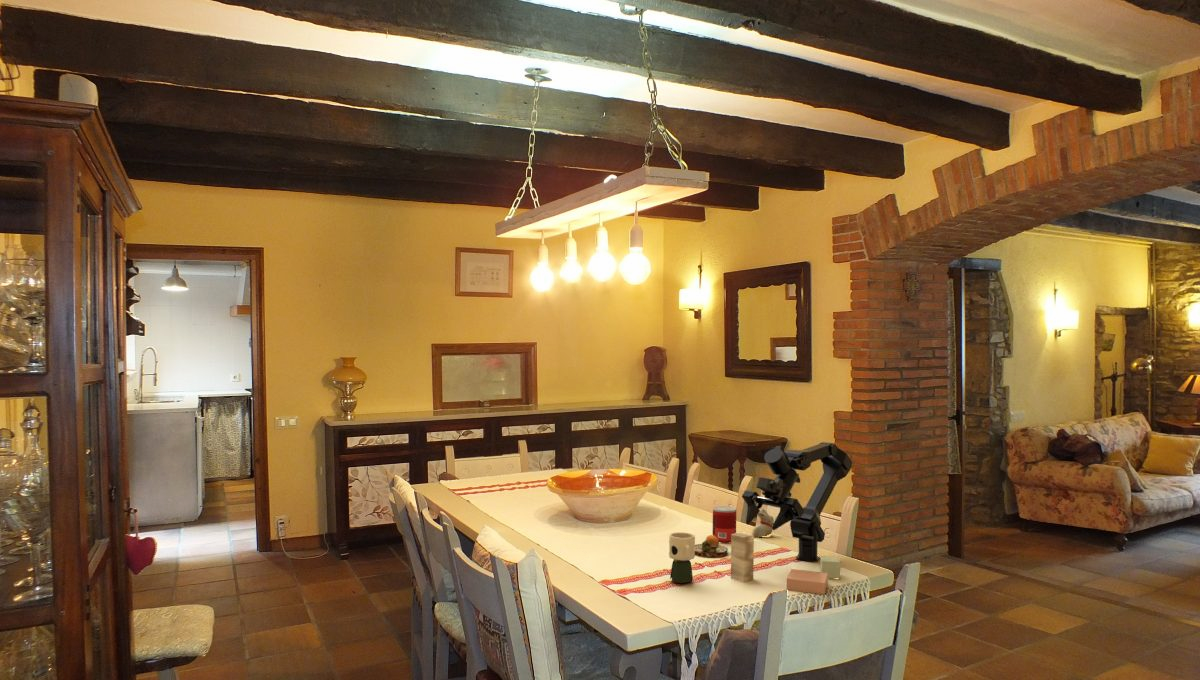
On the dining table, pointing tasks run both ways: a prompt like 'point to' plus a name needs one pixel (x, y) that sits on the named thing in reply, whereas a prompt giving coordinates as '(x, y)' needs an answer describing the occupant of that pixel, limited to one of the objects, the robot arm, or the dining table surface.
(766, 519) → the grey plush toy
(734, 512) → the canned food
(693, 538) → the character mug
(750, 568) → the beech post
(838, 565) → the sage block
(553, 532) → the dining table surface
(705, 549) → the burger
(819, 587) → the terracotta tile
